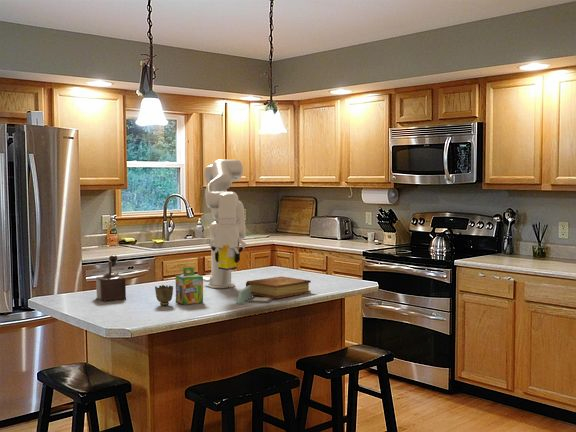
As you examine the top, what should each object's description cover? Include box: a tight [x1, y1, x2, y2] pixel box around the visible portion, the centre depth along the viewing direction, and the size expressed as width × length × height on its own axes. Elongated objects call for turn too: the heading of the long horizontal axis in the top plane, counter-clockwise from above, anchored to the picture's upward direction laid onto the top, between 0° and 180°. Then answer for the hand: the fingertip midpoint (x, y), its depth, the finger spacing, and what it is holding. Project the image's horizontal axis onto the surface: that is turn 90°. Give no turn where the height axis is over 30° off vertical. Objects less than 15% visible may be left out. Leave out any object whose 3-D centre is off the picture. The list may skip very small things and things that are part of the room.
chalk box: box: [175, 266, 204, 306], centre depth 270 cm, size 9×9×15 cm
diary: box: [245, 276, 311, 299], centre depth 290 cm, size 23×19×6 cm
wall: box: [235, 285, 254, 305], centre depth 275 cm, size 3×17×5 cm, turn 169°
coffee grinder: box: [95, 254, 127, 302], centre depth 281 cm, size 16×11×18 cm
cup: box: [154, 284, 174, 307], centre depth 264 cm, size 8×7×8 cm
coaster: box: [248, 296, 274, 304], centre depth 274 cm, size 9×9×1 cm
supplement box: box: [218, 245, 238, 271], centre depth 277 cm, size 6×6×11 cm
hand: (227, 261), depth 278 cm, fingers closed on supplement box, 8 cm apart
